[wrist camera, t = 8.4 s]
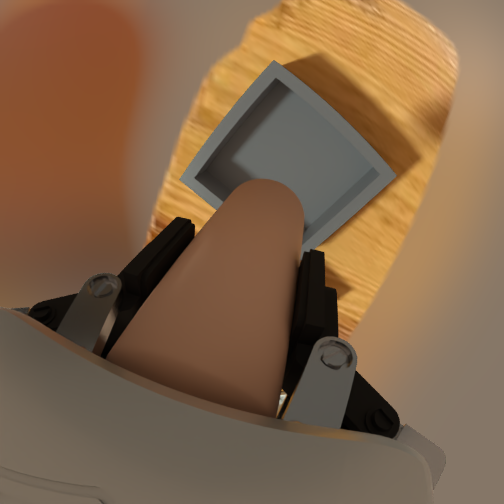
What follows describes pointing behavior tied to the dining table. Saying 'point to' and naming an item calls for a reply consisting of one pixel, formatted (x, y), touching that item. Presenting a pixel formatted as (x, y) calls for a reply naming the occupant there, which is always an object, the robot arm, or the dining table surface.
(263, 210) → the dowel
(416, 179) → the dining table surface
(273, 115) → the tray
